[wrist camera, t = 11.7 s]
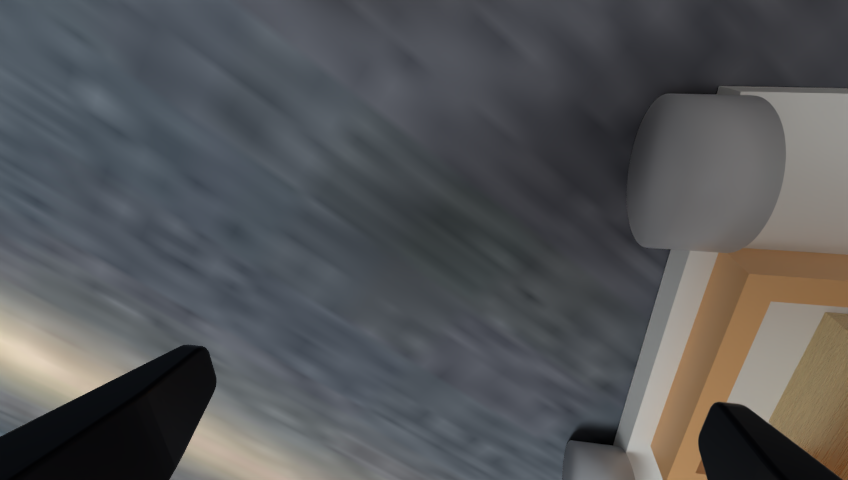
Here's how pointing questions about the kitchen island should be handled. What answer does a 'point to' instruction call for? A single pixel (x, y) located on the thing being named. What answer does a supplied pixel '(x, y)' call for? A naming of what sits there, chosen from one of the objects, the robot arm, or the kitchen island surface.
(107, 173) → the kitchen island surface
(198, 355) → the robot arm
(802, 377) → the wood-topped khaki block
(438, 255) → the kitchen island surface
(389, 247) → the kitchen island surface
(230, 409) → the kitchen island surface
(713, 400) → the frame
